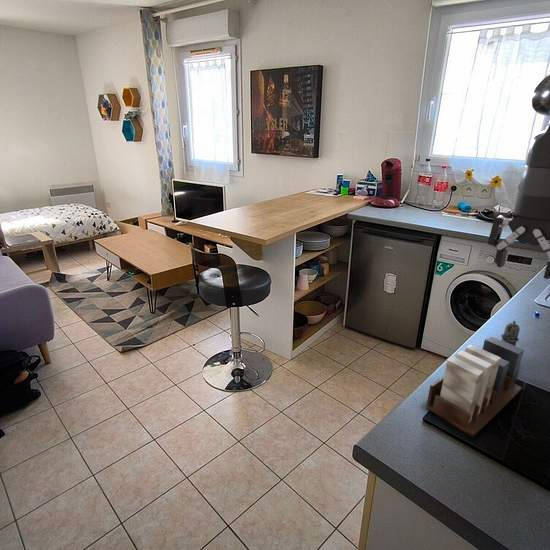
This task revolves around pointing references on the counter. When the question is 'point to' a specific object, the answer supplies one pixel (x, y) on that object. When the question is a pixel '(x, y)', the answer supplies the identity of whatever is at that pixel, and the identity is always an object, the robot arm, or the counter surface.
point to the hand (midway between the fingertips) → (522, 271)
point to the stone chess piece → (511, 333)
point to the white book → (479, 365)
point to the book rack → (476, 386)
